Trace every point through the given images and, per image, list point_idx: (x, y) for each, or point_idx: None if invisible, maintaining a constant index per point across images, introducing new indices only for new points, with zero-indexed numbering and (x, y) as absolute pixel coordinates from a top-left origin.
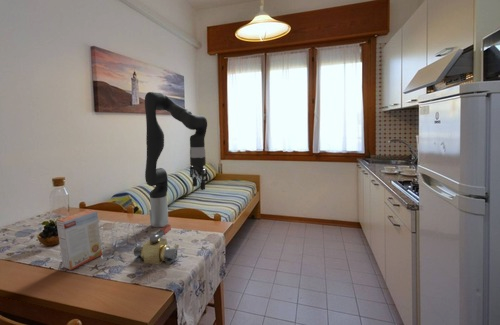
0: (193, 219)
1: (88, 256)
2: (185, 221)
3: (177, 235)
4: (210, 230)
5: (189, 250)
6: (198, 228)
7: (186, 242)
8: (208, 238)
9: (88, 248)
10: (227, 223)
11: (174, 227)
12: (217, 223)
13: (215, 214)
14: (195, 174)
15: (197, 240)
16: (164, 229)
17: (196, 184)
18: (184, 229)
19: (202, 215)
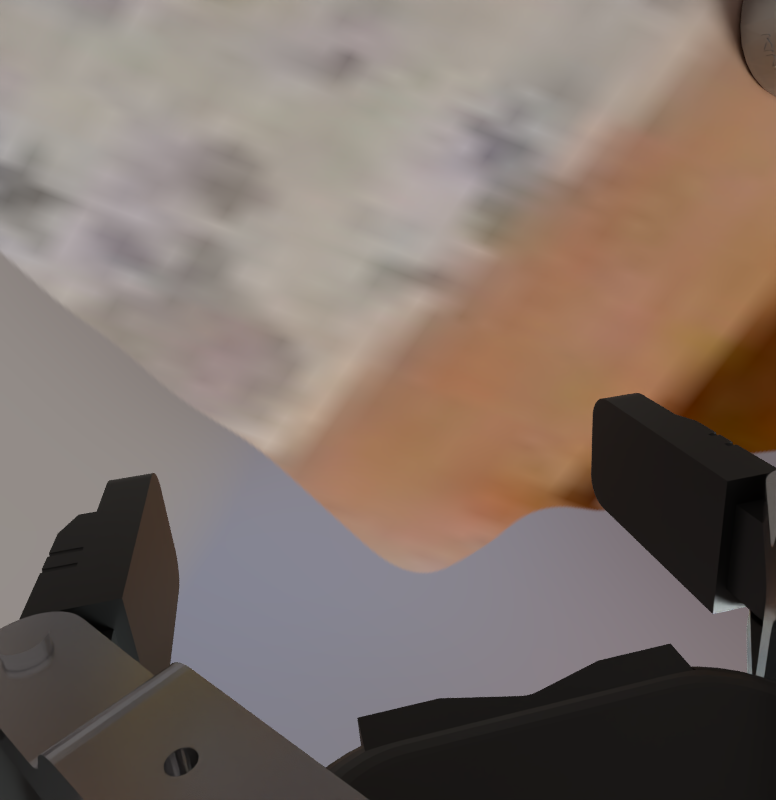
0: (707, 345)
1: None
2: (714, 264)
3: (450, 72)
4: (376, 392)
5: (25, 45)
6: (485, 314)
7: (234, 91)
8: (211, 314)
9: None
10: (433, 567)
11: (652, 117)
12: (485, 497)
13: None
14: (664, 709)
15: (222, 206)
16: None
17: (615, 500)
18: (545, 188)
19: None
